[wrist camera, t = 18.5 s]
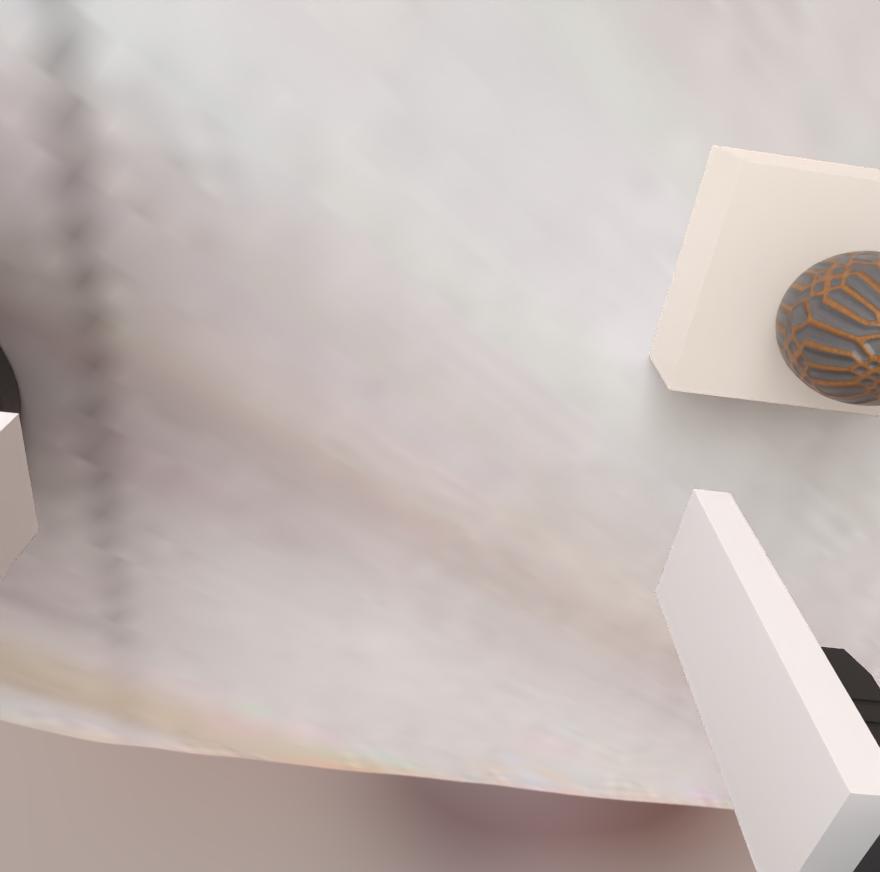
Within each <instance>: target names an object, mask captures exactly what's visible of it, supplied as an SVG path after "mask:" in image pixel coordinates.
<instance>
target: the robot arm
mask: <svg viewBox="0 0 880 872" xmlns="http://www.w3.org/2000/svg"><path fill="white" fill-rule="evenodd" d="M19 413H20V404H19V395H18V389H17V385H16V381H15V378H14V375H13V373H12V370H11V367H10V365H9V363H8V361H7V359H6V357H5V355H4V353H3V352H2V350H1V348H0V580H1V579H2V578H3V576H4V575H5V574H6V572H7V571H8V570H9V568H10V567H11V566H12V564H13V563H14V562H15V560H16V559H17V558H18V556H19V555H20V554H21V553H22V551H23V550H24V549H25V547H26V546H27V545H28V543H29V542H30V541H31V539H32V538H33V537H34V535H35V534H36V533H37V531H38V530H39V527H38V521H37V515H36V510H35V504H34V498H33V493H32V487H31V481H30V475H29V470H28V464H27V458H26V453H25V447H24V441H23V435H22V430H21V424H20V418H19ZM655 593H656V596H657V598H658V601H659V604H660V607H661V610H662V612H663V615H664V618H665V621H666V623H667V626H668V629H669V632H670V634H671V637H672V640H673V643H674V645H675V648H676V651H677V654H678V656H679V659H680V662H681V665H682V667H683V670H684V673H685V676H686V679H687V681H688V684H689V687H690V690H691V692H692V695H693V698H694V701H695V703H696V706H697V709H698V712H699V714H700V717H701V720H702V723H703V725H704V728H705V731H706V734H707V736H708V739H709V742H710V745H711V748H712V750H713V753H714V756H715V759H716V761H717V764H718V767H719V770H720V772H721V775H722V778H723V781H724V783H725V786H726V789H727V792H728V794H729V797H730V800H731V803H732V805H733V808H734V811H735V813H736V817H737V819H738V822H739V825H740V828H741V830H742V833H743V836H744V838H745V841H746V844H747V847H748V849H749V852H750V855H751V858H752V861H753V863H754V866H755V869H756V872H880V688H879V686H878V685H877V683H876V682H875V680H874V678H873V677H872V675H871V674H870V673H869V672H868V671H867V670H866V669H865V668H864V667H862V666H861V665H860V664H859V663H858V662H857V661H856V660H855V659H854V658H853V657H852V656H851V655H850V654H848V653H847V652H846V651H845V650H844V649H837V648H827V647H820V645H819V644H818V642H817V640H816V638H815V637H814V635H813V633H812V632H811V630H810V628H809V626H808V625H807V623H806V621H805V620H804V618H803V616H802V615H801V613H800V611H799V609H798V608H797V606H796V604H795V603H794V601H793V599H792V598H791V596H790V594H789V592H788V591H787V589H786V587H785V586H784V584H783V582H782V581H781V579H780V577H779V575H778V574H777V572H776V570H775V569H774V567H773V565H772V563H771V562H770V560H769V558H768V557H767V555H766V553H765V552H764V550H763V548H762V546H761V545H760V543H759V541H758V540H757V538H756V536H755V535H754V533H753V531H752V529H751V528H750V526H749V524H748V523H747V521H746V519H745V518H744V516H743V514H742V512H741V511H740V509H739V507H738V506H737V504H736V502H735V500H734V499H733V497H732V495H731V494H730V493H727V492H718V491H709V490H700V489H693V490H692V493H691V496H690V498H689V501H688V504H687V507H686V509H685V512H684V515H683V518H682V520H681V523H680V526H679V529H678V531H677V534H676V537H675V540H674V542H673V545H672V548H671V550H670V553H669V556H668V559H667V561H666V564H665V567H664V570H663V572H662V575H661V578H660V581H659V583H658V586H657V589H656V592H655Z"/></svg>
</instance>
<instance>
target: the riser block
mask: <svg viewBox="0 0 880 872" xmlns="http://www.w3.org/2000/svg"><path fill="white" fill-rule="evenodd" d="M854 251H878V252H880V169H873V168H866V167H860V166H853V165H846V164H839V163H833V162H826V161H819V160H812V159H806V158H799V157H792V156H785V155H779V154H772V153H765V152H759V151H752V150H745V149H738V148H732V147H725V146H718V145H712V149H711V152H710V155H709V158H708V162H707V165H706V168H705V172H704V175H703V178H702V182H701V185H700V188H699V192H698V195H697V198H696V201H695V205H694V208H693V211H692V215H691V218H690V221H689V225H688V228H687V231H686V235H685V238H684V241H683V245H682V248H681V251H680V254H679V258H678V261H677V264H676V268H675V271H674V274H673V278H672V281H671V284H670V288H669V291H668V294H667V297H666V301H665V304H664V307H663V311H662V314H661V317H660V321H659V324H658V327H657V331H656V334H655V337H654V340H653V344H652V347H651V350H650V354H649V357H650V359H651V360H652V362H653V364H654V365H655V367H656V369H657V370H658V372H659V374H660V376H661V377H662V379H663V381H664V382H665V384H666V386H667V388H668V389H669V390H672V391H680V392H688V393H696V394H704V395H712V396H720V397H729V398H737V399H745V400H753V401H761V402H769V403H777V404H785V405H793V406H801V407H809V408H817V409H825V410H833V411H841V412H849V413H857V414H865V415H873V416H879V414H880V406H861V405H853V404H847V403H843V402H839V401H836V400H832V399H830V398H827V397H825V396H823V395H821V394H819V393H817V392H816V391H814V390H812V389H811V388H809V387H808V386H807V385H806V384H804V383H803V382H802V381H801V380H800V379H799V378H798V377H797V376H796V375H795V374H794V373H793V372H792V371H791V370H790V369H789V367H788V366H787V364H786V362H785V361H784V359H783V357H782V355H781V353H780V350H779V347H778V344H777V339H776V328H775V325H776V316H777V311H778V308H779V305H780V302H781V300H782V298H783V296H784V294H785V293H786V291H787V290H788V288H789V287H790V285H791V284H792V283H793V282H794V281H795V280H796V278H797V277H798V276H800V275H801V274H802V273H803V272H804V271H805V270H807V269H808V268H810V267H811V266H813V265H814V264H816V263H818V262H820V261H822V260H824V259H827V258H829V257H832V256H835V255H838V254H843V253H847V252H854Z"/></svg>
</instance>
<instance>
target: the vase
mask: <svg viewBox="0 0 880 872" xmlns="http://www.w3.org/2000/svg"><path fill="white" fill-rule="evenodd" d="M775 328H776V339H777V344H778V347H779V350H780V353H781V355H782V357H783V359H784V361H785V362H786V364H787V366H788V367H789V369H790V370H791V371H792V372H793V373H794V374H795V375H796V376H797V377H798V378H799V379H800V380H801V381H802V382H803V383H804V384H806V385H807V386H808V387H809V388H811V389H812V390H814V391H816V392H817V393H819V394H821V395H823V396H825V397H827V398H830V399H832V400H836V401H839V402H843V403H847V404H853V405H861V406H880V252H878V251H854V252H847V253H843V254H838V255H835V256H832V257H829V258H827V259H824V260H822V261H820V262H818V263H816V264H814V265H813V266H811V267H810V268H808V269H807V270H805V271H804V272H803V273H802V274H801V275H800V276H798V277H797V278H796V280H795V281H794V282H793V283H792V284H791V285H790V287H789V288H788V290H787V291H786V293H785V294H784V296H783V298H782V300H781V302H780V305H779V308H778V311H777V316H776V325H775Z"/></svg>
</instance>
